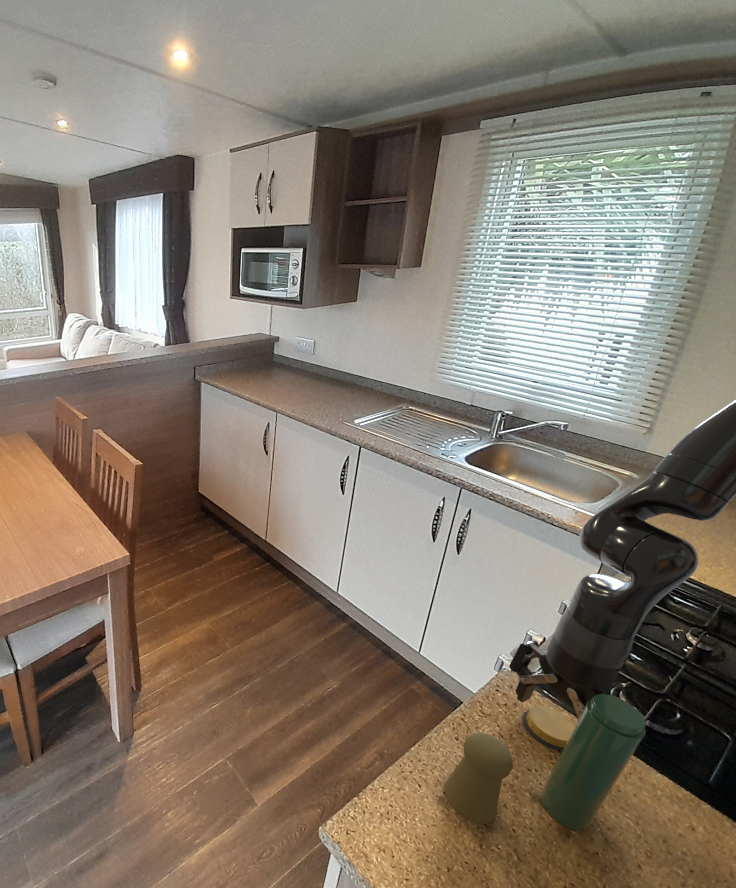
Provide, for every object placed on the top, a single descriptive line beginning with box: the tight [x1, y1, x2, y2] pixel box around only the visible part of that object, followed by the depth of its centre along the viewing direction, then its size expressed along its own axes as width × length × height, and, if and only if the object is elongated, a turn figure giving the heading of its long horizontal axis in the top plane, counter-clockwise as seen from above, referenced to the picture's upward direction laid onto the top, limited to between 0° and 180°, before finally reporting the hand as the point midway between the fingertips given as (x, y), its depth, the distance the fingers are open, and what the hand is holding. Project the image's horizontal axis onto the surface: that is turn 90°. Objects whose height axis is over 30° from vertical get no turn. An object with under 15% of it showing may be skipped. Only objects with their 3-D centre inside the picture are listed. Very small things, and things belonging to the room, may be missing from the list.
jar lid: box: [526, 705, 576, 747], centre depth 73 cm, size 6×6×2 cm
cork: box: [443, 732, 514, 825], centre depth 63 cm, size 6×6×11 cm
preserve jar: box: [539, 694, 647, 832], centre depth 60 cm, size 5×5×19 cm
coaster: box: [521, 709, 564, 751], centre depth 74 cm, size 6×6×1 cm
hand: (551, 722), depth 73 cm, fingers open, 8 cm apart
